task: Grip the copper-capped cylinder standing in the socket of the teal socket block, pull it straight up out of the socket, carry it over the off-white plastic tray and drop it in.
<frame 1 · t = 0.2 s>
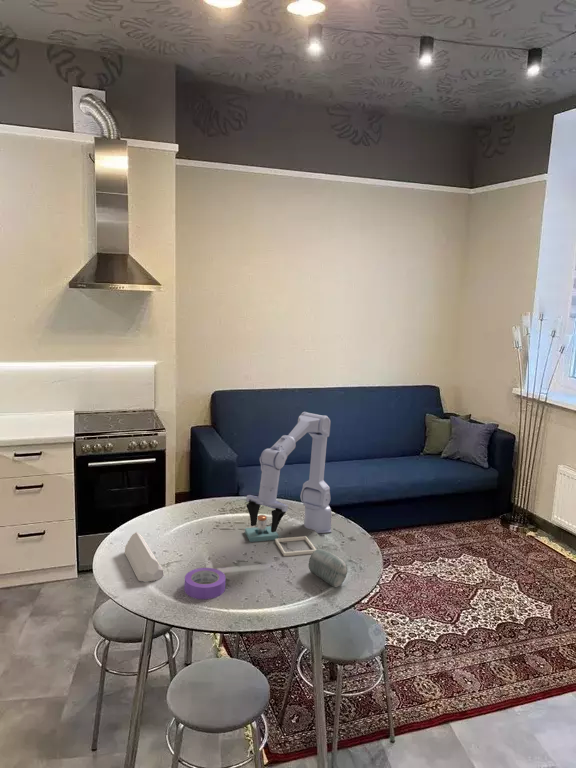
hand: (263, 528, 187), 11 cm above the table, fingers open, 7 cm apart
masking tape: (204, 590, 169), on the table
teal socket block: (261, 539, 203), on the table
copper-capped cylinder: (261, 535, 203), point 1 cm above the table, touching teal socket block
grey green streaked cylinder: (327, 579, 178), on the table
tray: (295, 551, 195), on the table
crystal: (143, 566, 181), on the table
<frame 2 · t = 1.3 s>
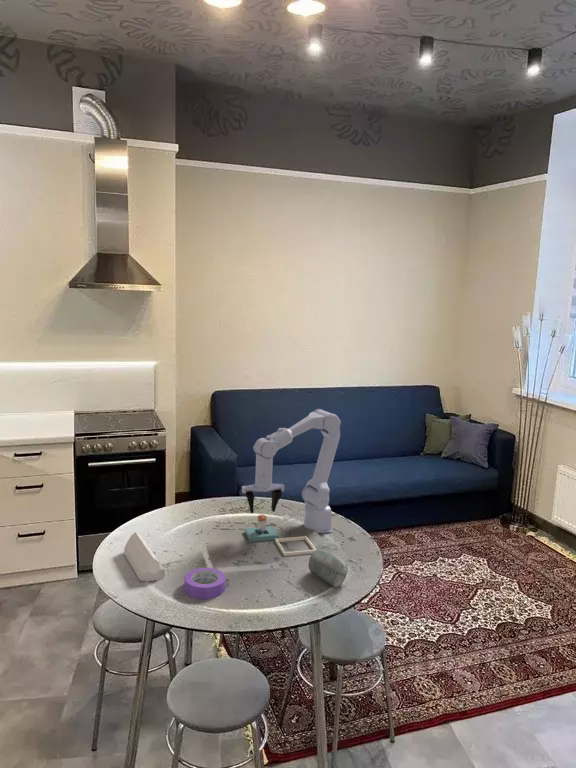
hand: (262, 511, 202), 10 cm above the table, fingers open, 7 cm apart
nothing on the table moved.
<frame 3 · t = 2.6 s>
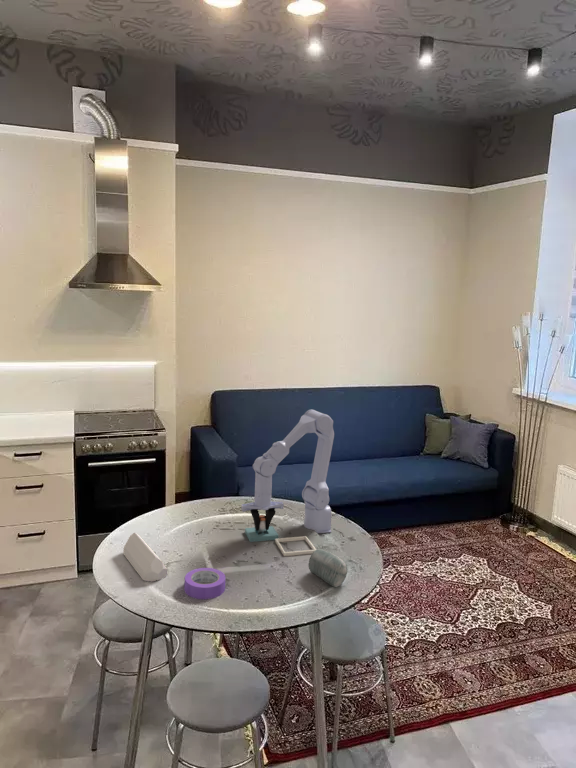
hand: (261, 529, 203), 4 cm above the table, fingers closed on copper-capped cylinder, 3 cm apart
copper-capped cylinder: (261, 535, 203), point 2 cm above the table, touching gripper, teal socket block
everything else where it was.
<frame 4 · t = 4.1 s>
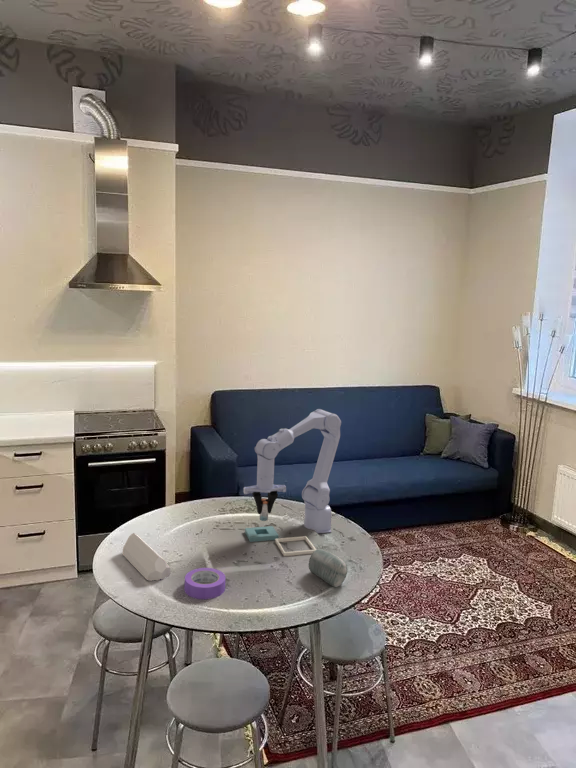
hand: (264, 512, 201), 10 cm above the table, fingers closed on copper-capped cylinder, 3 cm apart
copper-capped cylinder: (263, 519, 202), point 8 cm above the table, touching gripper
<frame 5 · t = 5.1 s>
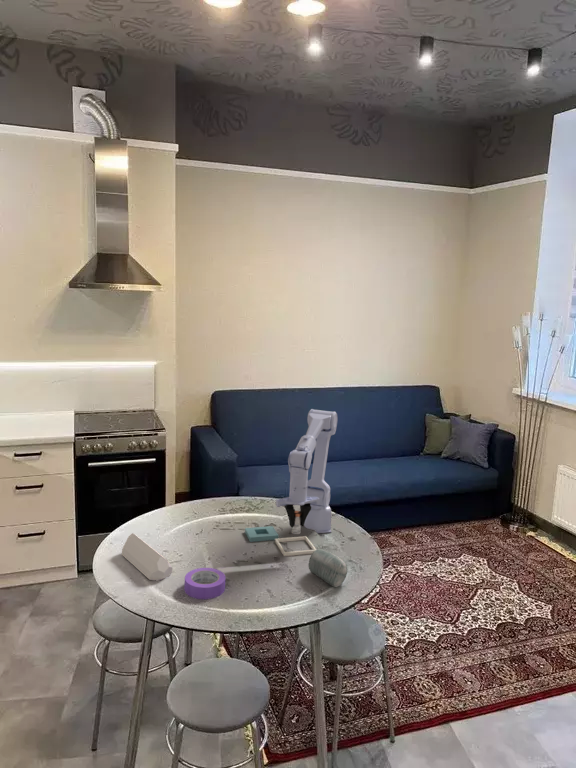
hand: (296, 525, 194), 9 cm above the table, fingers closed on copper-capped cylinder, 3 cm apart
copper-capped cylinder: (296, 532, 195), point 7 cm above the table, touching gripper
when the fingers open (5 cm above the table, at t = 5.8 s): copper-capped cylinder drops 2 cm, resting on tray.
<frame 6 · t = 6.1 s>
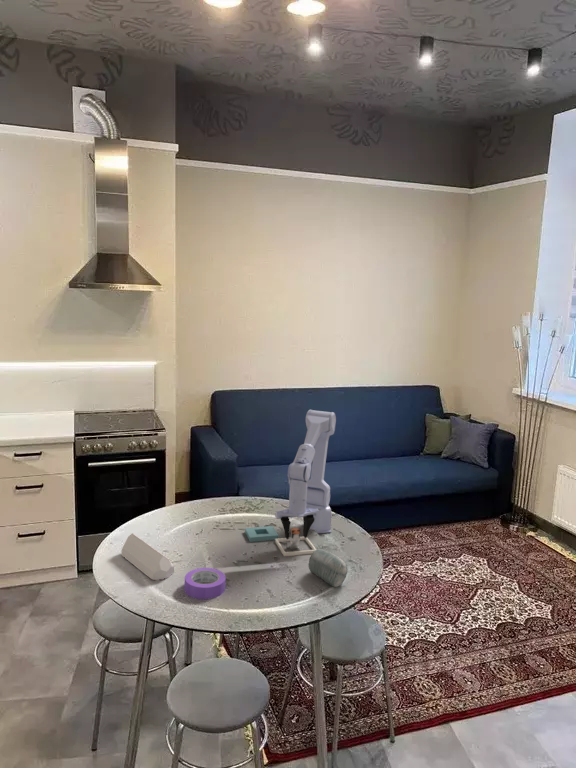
hand: (296, 537, 195), 5 cm above the table, fingers open, 6 cm apart
copper-capped cylinder: (294, 549, 196), point 1 cm above the table, touching tray
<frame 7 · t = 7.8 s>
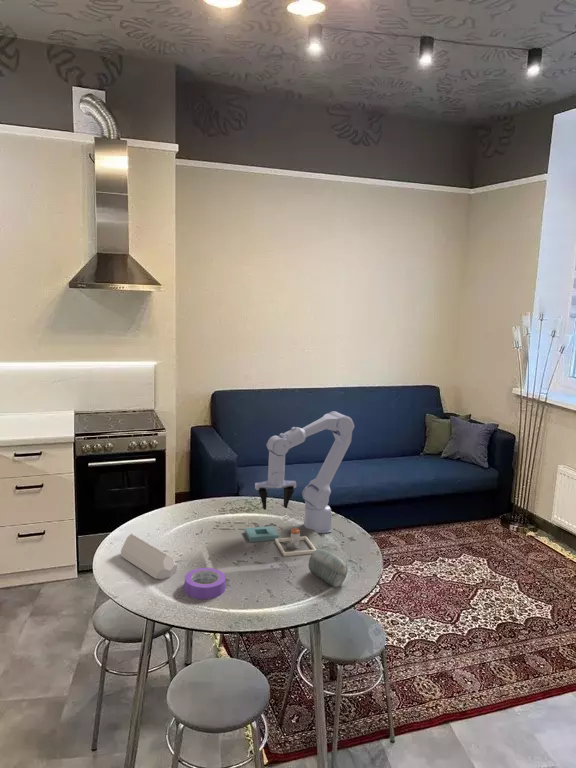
hand: (274, 507, 205), 10 cm above the table, fingers open, 7 cm apart
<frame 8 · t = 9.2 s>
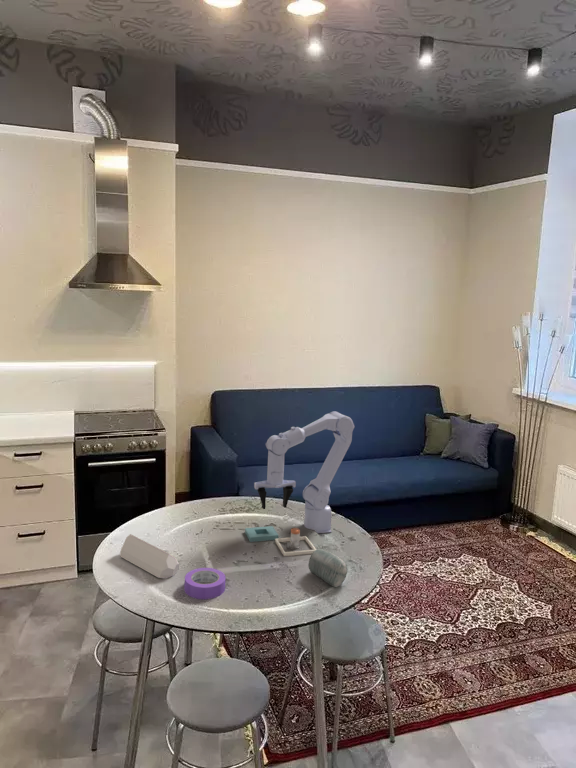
hand: (274, 507, 206), 10 cm above the table, fingers open, 7 cm apart
at the end: copper-capped cylinder inside the target area on the tray (0.3 cm from its centre), point 0.6 cm above the tray's base; the gripper is holding nothing; copper-capped cylinder touching tray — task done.
